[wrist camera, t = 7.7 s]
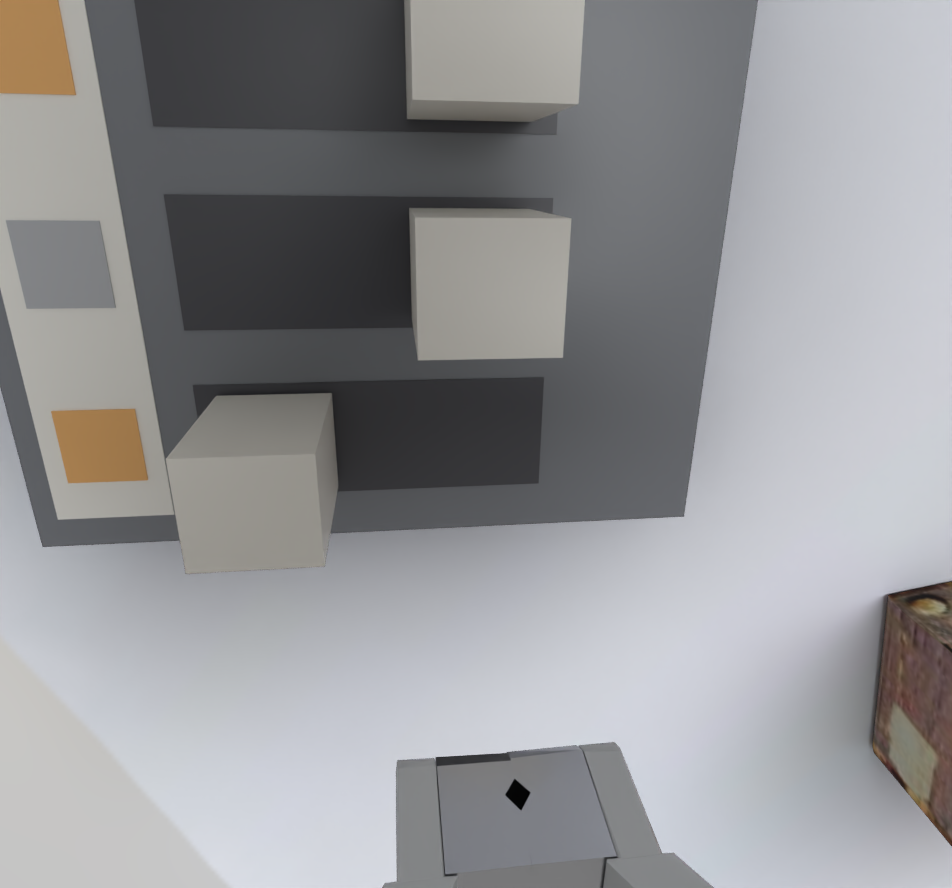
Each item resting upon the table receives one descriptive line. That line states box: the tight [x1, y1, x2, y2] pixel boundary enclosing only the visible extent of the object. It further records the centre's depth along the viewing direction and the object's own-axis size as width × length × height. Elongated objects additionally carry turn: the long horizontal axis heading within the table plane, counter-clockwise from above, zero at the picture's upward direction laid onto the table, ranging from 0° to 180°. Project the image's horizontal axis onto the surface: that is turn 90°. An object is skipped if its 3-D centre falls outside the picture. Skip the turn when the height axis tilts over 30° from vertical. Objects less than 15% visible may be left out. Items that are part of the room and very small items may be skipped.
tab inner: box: [404, 0, 585, 122], centre depth 16 cm, size 3×4×5 cm
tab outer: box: [166, 393, 338, 574], centre depth 19 cm, size 3×4×5 cm
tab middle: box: [409, 208, 571, 360], centre depth 18 cm, size 3×4×5 cm
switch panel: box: [0, 0, 758, 547], centre depth 21 cm, size 18×22×2 cm
